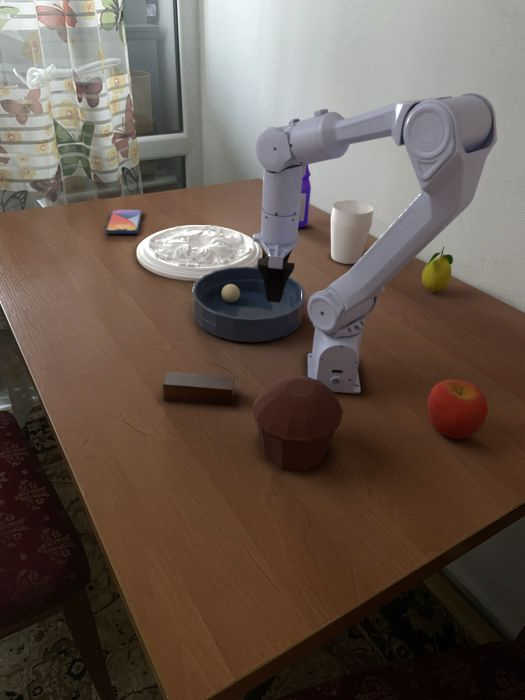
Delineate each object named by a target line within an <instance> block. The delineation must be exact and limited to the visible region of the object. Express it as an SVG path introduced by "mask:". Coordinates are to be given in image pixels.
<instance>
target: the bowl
mask: <svg viewBox="0 0 525 700" xmlns="http://www.w3.org/2000/svg"><path fill="white" fill-rule="evenodd" d="M228 284H233V285H236V286H237V287H238V288H239V291H240V297H239V299H238V300H237V301H236V302H233V303H229V302H226V301H225V300H224V299H223V298H222V294H221V293H222V289H223V288H224V287H225V286H226V285H228ZM305 294H306V292H305V289H304V288H303V286H302V285H301V284H300V282H298V281H297V280H296V279H294V278H293V277H291V276H289V278H288V280H287V282H286V285H285V288H284V292H283V295H282V298H281V301H280V302H268V301H267V298H266V293H265V286H264V281H263V278H262V275H261V273H260V271H259V269H258V266H257V267H232V268H225V269H221V270H216V271H213V272H211V273H209V274H206V275H204V276H202V277H201V278H200V279H199V280H198V281H194V283H193V287H192V289H191V312H192V316H193V319H194V322H195V323H196V324H197V325H198V326H199V327H200V328H201V329H202V330H203V331H205V332H206V333H210V334H211V335H212V336H215V337H216V338H217V337H218V338H221V339H225V340H229V341H233V342H242V343H243V342H244V343H245V342H246V343H258V342H268V341H269V342H270V341H273V340H276V339H280V338H283V337H286V336H287V335H289V334H291V333H292V332H294V331H296V330H297V329H298V328H299V326H300V325H301V323H302V322H303V319H304V309H305V300H306V295H305Z"/></svg>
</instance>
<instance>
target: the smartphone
mask: <svg viewBox="0 0 525 700" xmlns="http://www.w3.org/2000/svg"><path fill="white" fill-rule="evenodd" d="M142 214H143V213H142V210H141V209H113V210H112V211H111V214H110V216H109V220H108V222H107V224H106V228H105V232H106V233H107V234H108V235H119V234H121V235H122V234H124V235H125V234H126V235H127V234H128V235H129V234H130V235H131V234H133V235H134V234H138V232H139V228H140V223H141V220H142V216H143V215H142Z"/></svg>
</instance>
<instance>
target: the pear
mask: <svg viewBox="0 0 525 700" xmlns="http://www.w3.org/2000/svg"><path fill="white" fill-rule="evenodd" d="M444 250H445V246H442V250H441V251H440V252H435V253H434V254H433V255H432V256H431V257H430V260H429V261H428V263H426V265H425V267H424V268H423V270H422V274H421V282H422V284H423V286H424V287H425V288H426V289H428V290H429V291H430V292H432V293H435V292H437V291H441V290H443V289H446V288H447V287H448V285H449V284H450V282H451V278H452V264H453V262H454V257H453V256H452V254H449V253H447V254H444Z"/></svg>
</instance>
